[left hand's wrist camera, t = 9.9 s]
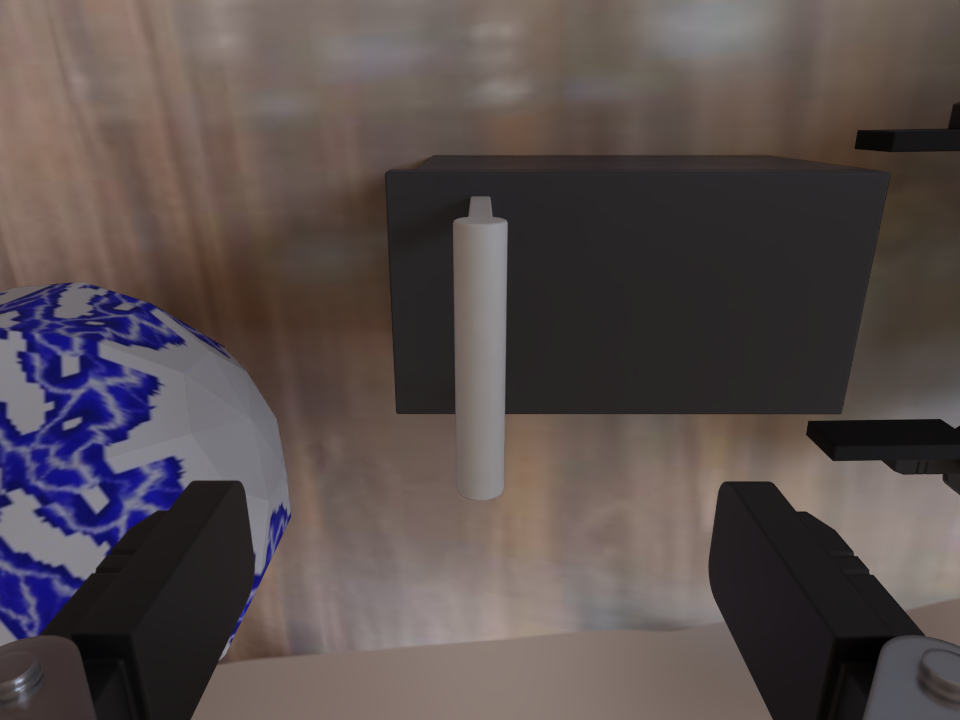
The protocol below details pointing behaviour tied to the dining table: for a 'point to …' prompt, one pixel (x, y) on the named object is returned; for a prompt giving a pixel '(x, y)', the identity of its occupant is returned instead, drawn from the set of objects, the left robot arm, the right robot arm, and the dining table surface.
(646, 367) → the lid
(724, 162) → the chest
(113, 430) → the ornament
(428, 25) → the dining table surface
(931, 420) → the right robot arm
